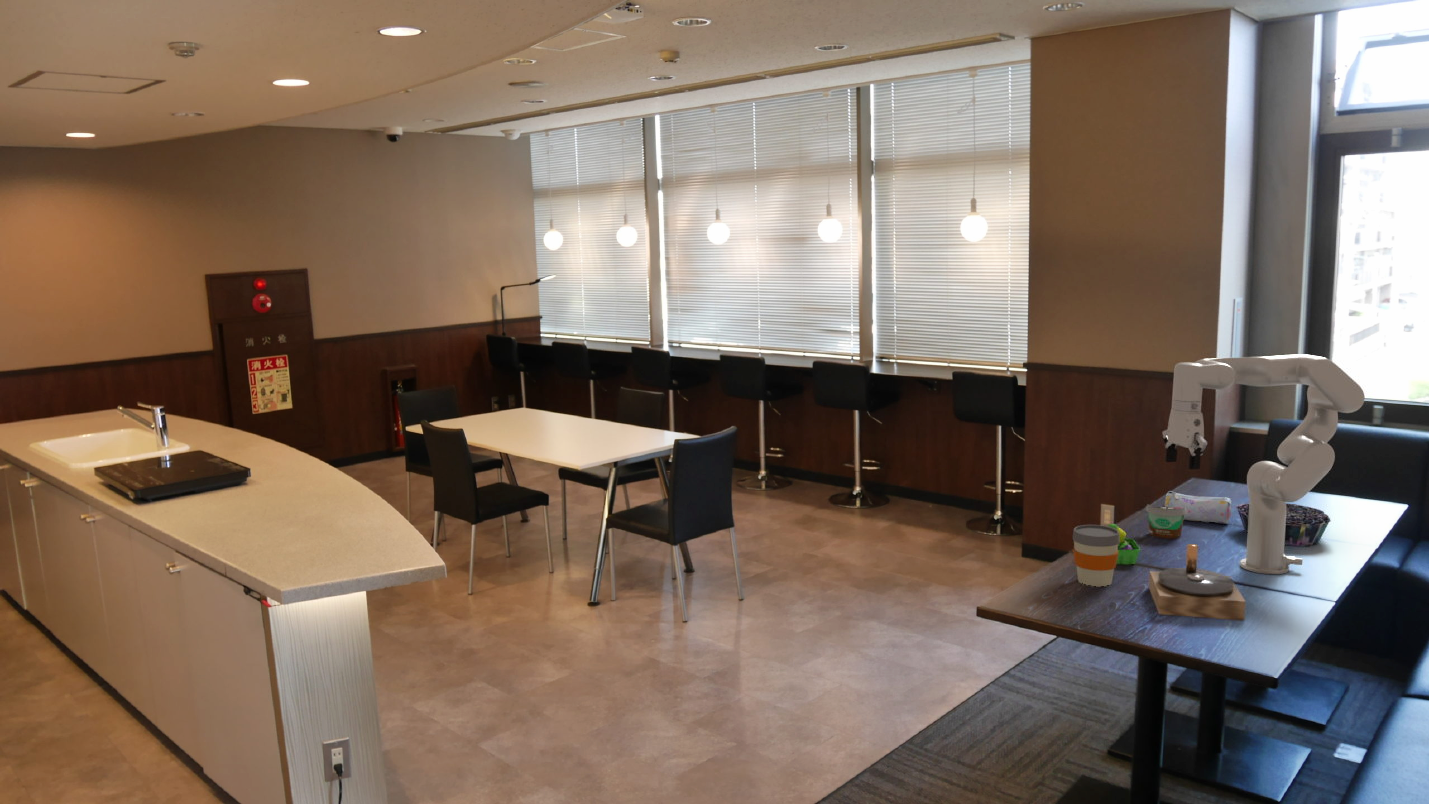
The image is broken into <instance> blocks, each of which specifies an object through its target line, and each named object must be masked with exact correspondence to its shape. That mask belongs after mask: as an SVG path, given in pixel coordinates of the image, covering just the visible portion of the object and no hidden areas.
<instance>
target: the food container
mask: <svg viewBox="0 0 1429 804" xmlns="http://www.w3.org/2000/svg"><path fill="white" fill-rule="evenodd" d="M1145 507H1146V508H1145V511H1146V512H1147V517H1148V520H1147V521H1148V531H1149V532H1148V533H1149V535H1150V536H1152V537H1154V538H1157V537H1158V538H1157V539H1161V540H1162V539H1163V540H1175V539H1180V538H1181V537H1182V531H1183V524H1184V521H1185V520H1184V515H1185V514H1187V510H1186V508H1185V507H1184V508H1182V509H1178V508H1171V507H1163V506H1152V505H1149V504H1148V503H1147V504H1146V506H1145Z"/></svg>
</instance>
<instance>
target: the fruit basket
mask: <svg viewBox="0 0 1429 804" xmlns="http://www.w3.org/2000/svg"><path fill="white" fill-rule="evenodd" d="M1107 527H1111V528H1114V529H1116V530H1118V531H1119V538H1120V543H1119V544H1118V548H1117V550H1118V557H1117V563H1116V565H1132V564H1136V562H1137V559H1138V555H1139V553H1140V552H1141V548H1140V547H1139V546H1138V544H1137V542H1136V540H1134V539H1133V538H1126V537H1127V533H1126V532H1125V530H1123V529H1122V528H1120V527H1119V526H1118V525H1117V524H1115V523H1111V524H1110V523H1109V524H1107Z"/></svg>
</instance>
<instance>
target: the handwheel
mask: <svg viewBox="0 0 1429 804" xmlns="http://www.w3.org/2000/svg"><path fill="white" fill-rule="evenodd" d="M1198 552H1199V547H1198V544H1195V543H1194V544H1193V543H1187V545H1186V561H1185V562H1186V563H1185V567H1174V568H1167V569H1166V568H1165V569H1164V570H1161V571H1159V572H1160V573H1159V577H1158V581H1159V584H1160V585H1162V586H1163V587H1165V588H1167V589H1169V590H1172V591H1175V592H1178V593H1183V594H1188V595H1195V596H1222V595H1227V594H1229V593H1231V592H1232V591H1233V590H1234V584H1235V582H1234V580H1233V579H1232V578H1231V577H1230V578H1229V577H1227V576H1228V575H1225V574H1223V573H1220V572H1216V571H1214V570H1208V569H1203V568H1197V567H1198Z"/></svg>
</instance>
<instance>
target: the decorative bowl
mask: <svg viewBox="0 0 1429 804" xmlns="http://www.w3.org/2000/svg"><path fill="white" fill-rule="evenodd" d="M1285 503H1286V527H1285V543H1284V546H1291V545H1292V547H1300V545H1305V546H1304V547H1310V545H1311V546H1312V545H1317V544H1319V543H1320V541H1321V540H1322V537H1323V535H1324V534H1325V531H1326V529H1327V527H1328V525H1329V523H1330V522H1331V521H1332V520H1331V518H1330V516H1329V515H1328V514H1326V513H1325V512H1324V510H1321V509H1318V508H1315V507H1310V506H1307V505H1305V506H1304V505H1302V504H1301V505H1300V504H1295V503H1289V502H1285ZM1235 508H1236V509H1237V511H1238V515H1239V518H1240V521H1241V524H1242V526H1243V529H1244V531H1245V530H1246V531H1245V532H1246V533H1247V532H1248V516H1249V502H1245V503H1240V504H1238V505H1236V506H1235Z"/></svg>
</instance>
